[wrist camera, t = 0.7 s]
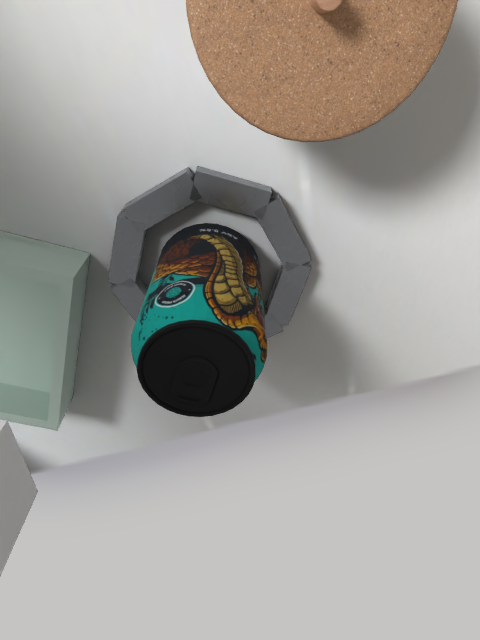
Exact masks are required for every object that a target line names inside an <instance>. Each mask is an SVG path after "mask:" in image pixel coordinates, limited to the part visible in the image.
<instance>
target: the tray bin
mask: <svg viewBox="0 0 480 640" xmlns="http://www.w3.org/2000/svg"><path fill="white" fill-rule="evenodd" d="M89 259H90V253H87V252H83V251H79V250H75V249H71V248H67V247H63V246H59V245H55V244H51V243H47V242H43V241H39V240H35V239H31V238H27V237H23V236H19V235H15V234H11V233H7V232H3V231H0V420H7V421H10V422H15V423H21V424H26V425H31V426H36V427H41V428H47V429H52V430H57V431H58V428H59V426H60V424H61V422H62V420H63V418H64V415H65V413H66V411H67V409H68V407H69V404H70V402H71V400H72V398H73V391H74V383H75V374H76V366H77V358H78V350H79V341H80V333H81V325H82V317H83V309H84V300H85V292H86V284H87V276H88V268H89Z"/></svg>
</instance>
